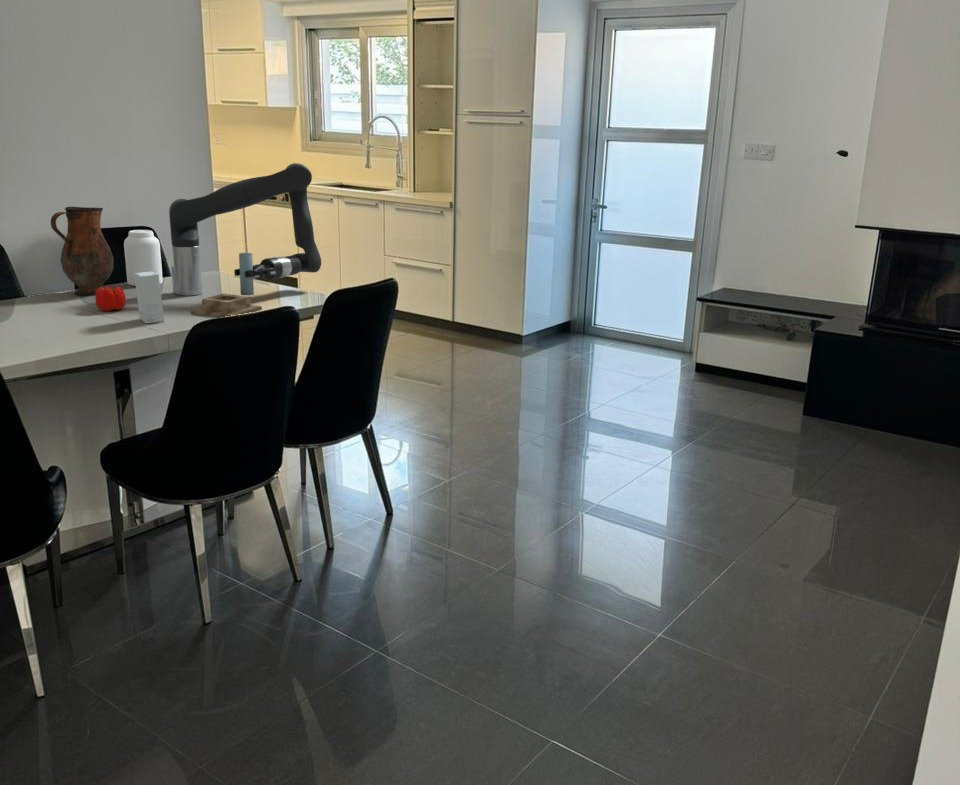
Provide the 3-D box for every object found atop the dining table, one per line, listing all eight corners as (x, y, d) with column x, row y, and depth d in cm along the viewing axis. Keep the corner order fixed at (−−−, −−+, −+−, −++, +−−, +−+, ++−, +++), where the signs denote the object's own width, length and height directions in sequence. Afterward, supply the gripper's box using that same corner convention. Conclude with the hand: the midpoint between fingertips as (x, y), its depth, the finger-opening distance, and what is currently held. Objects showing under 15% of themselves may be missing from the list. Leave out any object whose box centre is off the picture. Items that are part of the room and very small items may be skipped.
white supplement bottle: (141, 288, 315) (136, 233, 309) (120, 284, 321) (115, 230, 315) (169, 283, 325) (165, 230, 319) (149, 279, 332) (144, 227, 326)
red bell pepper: (90, 311, 277) (88, 288, 274) (111, 306, 285) (109, 283, 282) (113, 314, 273) (111, 291, 271) (133, 309, 281) (131, 286, 279)
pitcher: (127, 291, 308) (119, 207, 299) (78, 301, 289) (68, 211, 280) (93, 286, 314) (84, 203, 305) (43, 296, 296) (32, 208, 287)
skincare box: (164, 322, 265) (160, 274, 260) (144, 324, 262) (139, 275, 257) (157, 316, 272) (153, 270, 267) (137, 318, 268) (133, 271, 264)
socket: (191, 313, 278) (190, 299, 276) (222, 304, 292) (221, 291, 291) (232, 318, 272) (231, 304, 271) (261, 309, 287) (261, 296, 285)
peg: (238, 294, 295) (236, 254, 291) (245, 292, 299) (244, 252, 295) (248, 295, 294) (247, 255, 290) (256, 293, 298) (254, 253, 294)
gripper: (261, 255, 308) (225, 260, 294) (290, 259, 302) (255, 265, 287) (261, 275, 311) (226, 281, 297) (291, 280, 304) (255, 287, 290)
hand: (240, 273), depth 292 cm, fingers closed on peg, 4 cm apart
